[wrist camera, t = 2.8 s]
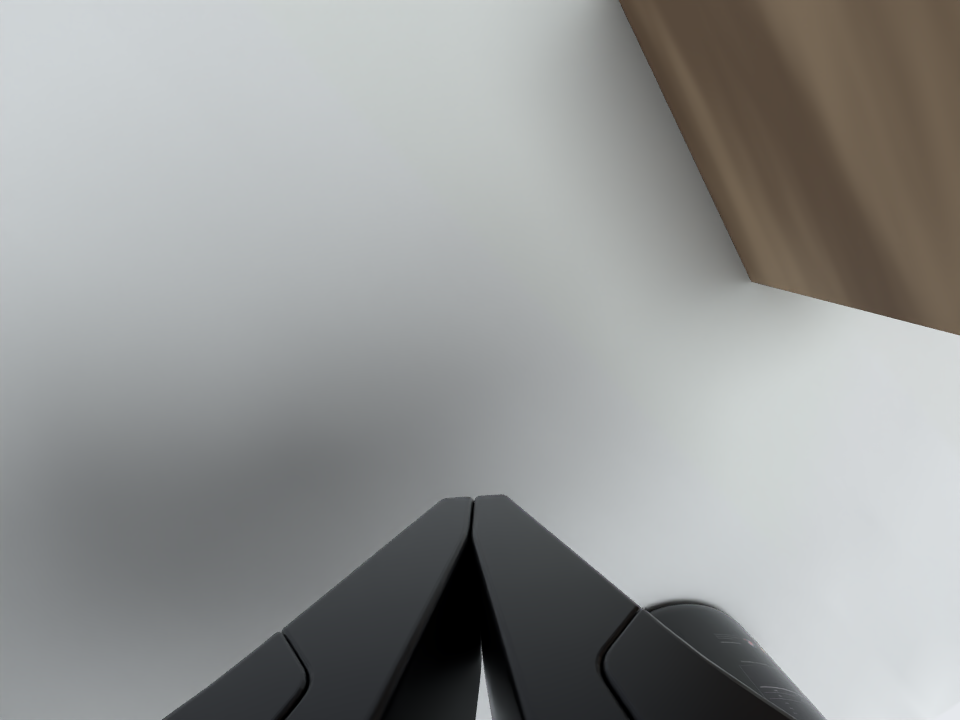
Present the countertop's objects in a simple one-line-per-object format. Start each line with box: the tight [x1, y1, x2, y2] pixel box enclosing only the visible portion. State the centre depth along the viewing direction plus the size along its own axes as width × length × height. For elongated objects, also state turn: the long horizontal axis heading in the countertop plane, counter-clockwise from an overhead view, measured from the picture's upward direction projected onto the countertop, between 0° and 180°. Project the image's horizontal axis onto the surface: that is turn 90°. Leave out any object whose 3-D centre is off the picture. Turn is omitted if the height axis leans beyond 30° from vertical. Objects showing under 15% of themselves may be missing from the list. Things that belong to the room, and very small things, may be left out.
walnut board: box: [619, 0, 960, 335], centre depth 13 cm, size 4×10×12 cm, turn 32°
